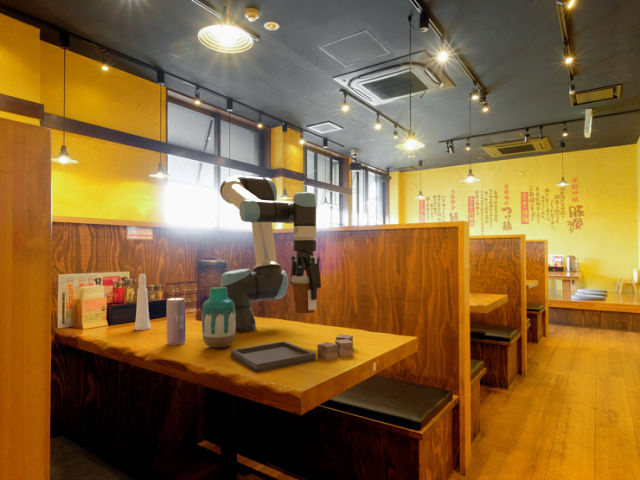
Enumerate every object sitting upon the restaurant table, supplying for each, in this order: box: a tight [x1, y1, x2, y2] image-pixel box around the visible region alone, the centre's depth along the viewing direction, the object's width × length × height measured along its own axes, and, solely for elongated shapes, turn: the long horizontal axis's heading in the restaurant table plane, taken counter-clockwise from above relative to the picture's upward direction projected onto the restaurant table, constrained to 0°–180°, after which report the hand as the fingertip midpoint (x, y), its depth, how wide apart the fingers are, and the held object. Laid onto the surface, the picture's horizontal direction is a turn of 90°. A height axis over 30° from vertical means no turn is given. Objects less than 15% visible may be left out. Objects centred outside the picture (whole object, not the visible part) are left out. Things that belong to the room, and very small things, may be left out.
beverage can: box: [166, 297, 187, 346], centre depth 132 cm, size 6×6×15 cm
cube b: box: [334, 339, 354, 358], centre depth 115 cm, size 4×4×4 cm
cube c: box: [335, 334, 354, 343], centre depth 121 cm, size 4×4×4 cm
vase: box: [201, 286, 236, 349], centre depth 126 cm, size 11×11×19 cm
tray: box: [230, 340, 317, 373], centre depth 112 cm, size 18×18×2 cm
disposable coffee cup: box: [290, 274, 316, 314], centre depth 129 cm, size 10×10×12 cm
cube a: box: [316, 341, 338, 362], centre depth 111 cm, size 4×4×4 cm
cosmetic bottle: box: [134, 273, 152, 331], centre depth 157 cm, size 6×6×22 cm
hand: (305, 307), depth 129 cm, fingers closed on disposable coffee cup, 8 cm apart
